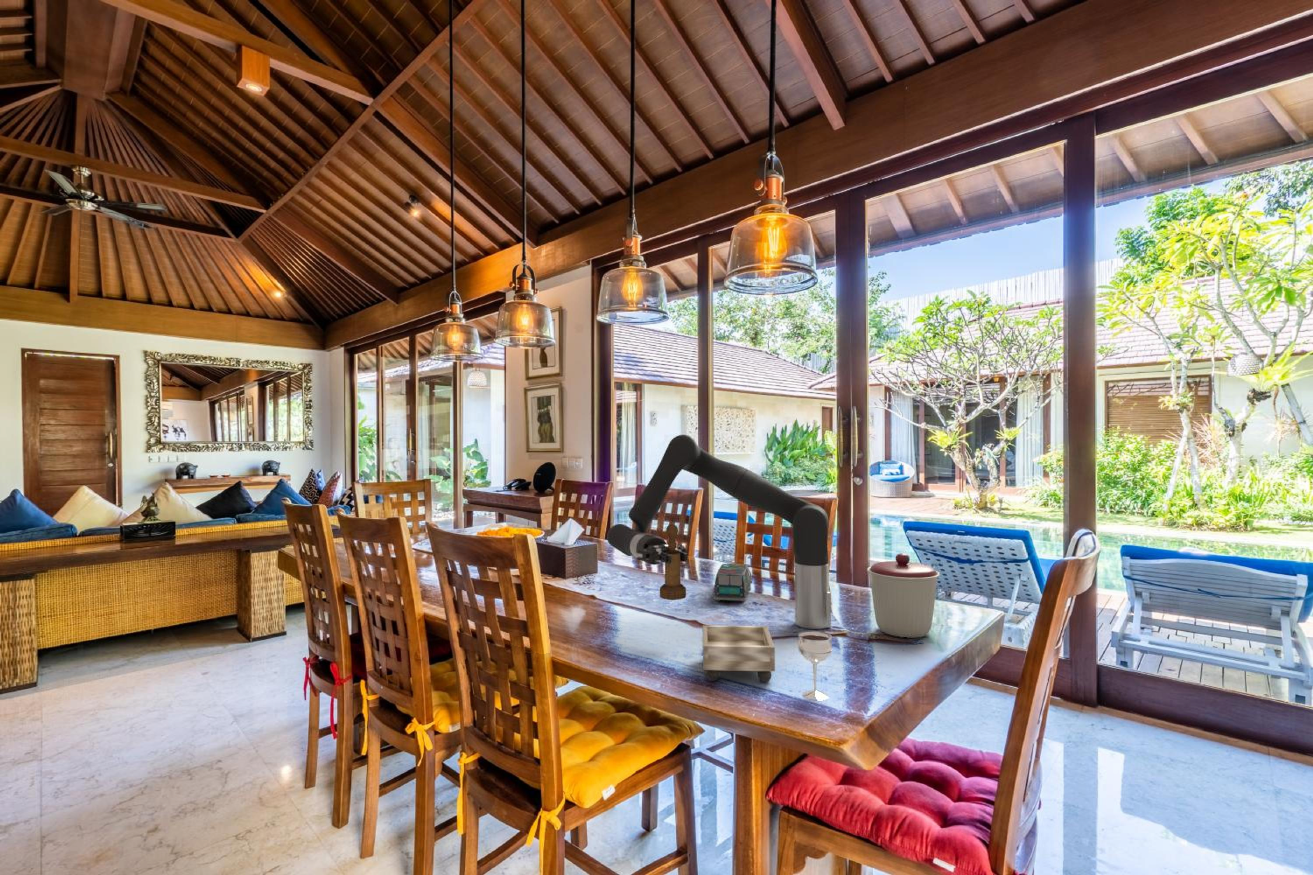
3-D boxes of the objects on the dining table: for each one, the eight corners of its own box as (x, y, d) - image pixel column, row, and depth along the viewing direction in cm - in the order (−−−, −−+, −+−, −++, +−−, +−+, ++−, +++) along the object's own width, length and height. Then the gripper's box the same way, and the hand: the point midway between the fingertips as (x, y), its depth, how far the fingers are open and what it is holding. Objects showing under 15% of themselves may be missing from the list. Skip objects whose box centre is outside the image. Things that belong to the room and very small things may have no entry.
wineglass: (795, 699, 123) (795, 638, 123) (800, 686, 129) (800, 629, 129) (831, 704, 120) (830, 642, 120) (834, 691, 127) (833, 632, 127)
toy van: (752, 587, 218) (752, 559, 218) (746, 605, 194) (746, 573, 194) (722, 586, 220) (721, 558, 221) (712, 604, 196) (712, 572, 196)
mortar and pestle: (677, 601, 150) (676, 527, 150) (654, 598, 154) (653, 525, 154) (690, 595, 156) (689, 524, 156) (668, 592, 159) (667, 522, 159)
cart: (767, 660, 145) (767, 626, 145) (775, 685, 130) (774, 647, 130) (703, 659, 146) (702, 625, 146) (703, 684, 131) (702, 646, 131)
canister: (863, 621, 176) (863, 547, 176) (931, 624, 172) (930, 548, 173) (872, 641, 158) (871, 558, 159) (948, 645, 155) (947, 560, 155)
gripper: (623, 536, 165) (651, 545, 149) (671, 532, 171) (702, 540, 155) (624, 564, 165) (652, 576, 149) (671, 559, 171) (703, 570, 155)
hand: (677, 558), depth 152 cm, fingers closed on mortar and pestle, 4 cm apart
